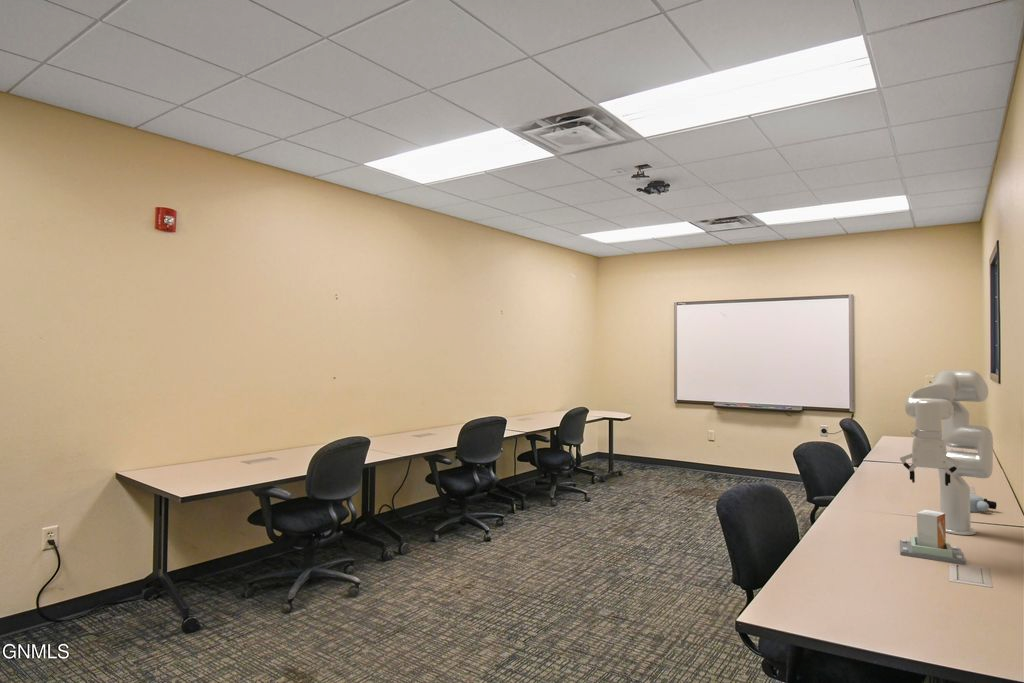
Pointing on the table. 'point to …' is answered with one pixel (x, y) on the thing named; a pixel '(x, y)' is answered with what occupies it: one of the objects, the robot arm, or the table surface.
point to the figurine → (980, 503)
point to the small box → (931, 529)
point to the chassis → (931, 551)
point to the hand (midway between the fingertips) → (929, 483)
